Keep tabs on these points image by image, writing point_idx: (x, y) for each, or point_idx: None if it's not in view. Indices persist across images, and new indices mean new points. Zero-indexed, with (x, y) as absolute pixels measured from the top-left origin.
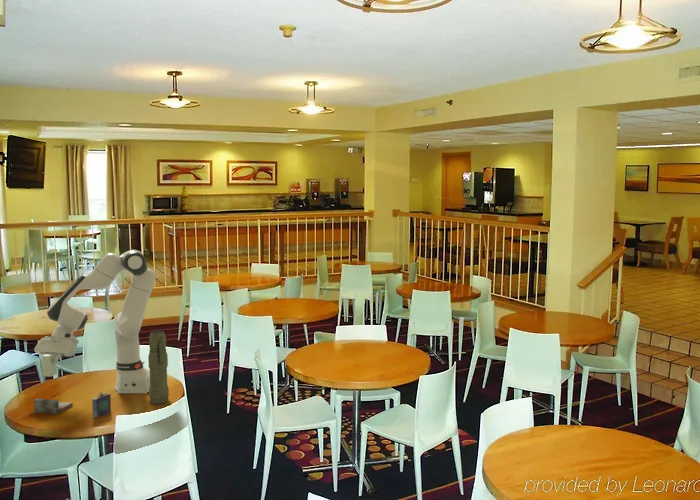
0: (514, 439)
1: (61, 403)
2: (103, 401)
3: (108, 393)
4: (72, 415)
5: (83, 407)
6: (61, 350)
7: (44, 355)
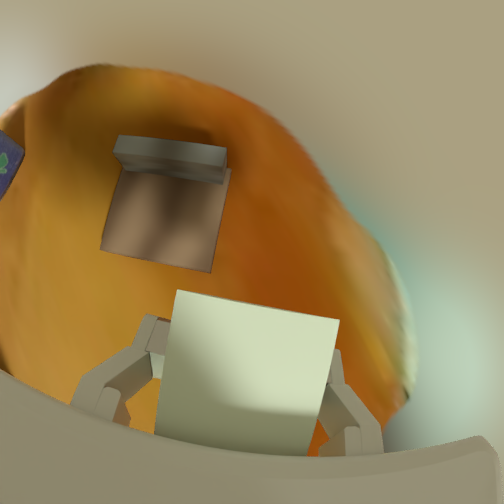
0: None
1: (141, 239)
2: None
3: None
4: (79, 159)
5: (63, 236)
6: (25, 421)
7: (298, 341)
